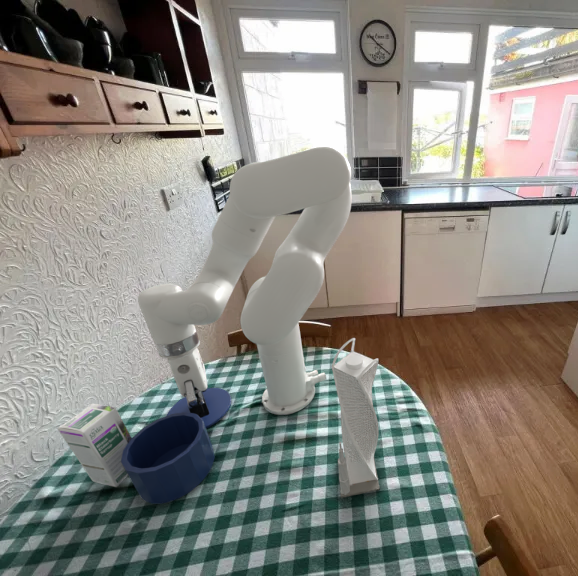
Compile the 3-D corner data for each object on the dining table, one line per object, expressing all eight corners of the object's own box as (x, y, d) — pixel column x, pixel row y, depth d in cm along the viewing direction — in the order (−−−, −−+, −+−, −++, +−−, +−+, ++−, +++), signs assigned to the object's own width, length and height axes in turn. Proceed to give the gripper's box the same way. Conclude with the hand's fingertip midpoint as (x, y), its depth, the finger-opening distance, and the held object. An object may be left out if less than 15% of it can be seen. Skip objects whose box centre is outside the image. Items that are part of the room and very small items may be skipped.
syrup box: (116, 488, 57) (83, 432, 51) (91, 482, 59) (55, 427, 52) (144, 460, 63) (116, 406, 56) (120, 455, 64) (90, 401, 57)
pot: (211, 432, 68) (201, 403, 65) (217, 480, 59) (205, 449, 55) (141, 460, 62) (126, 430, 59) (135, 518, 53) (116, 487, 49)
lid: (228, 384, 82) (221, 362, 79) (235, 419, 72) (228, 395, 68) (167, 405, 76) (157, 382, 73) (166, 447, 65) (154, 422, 62)
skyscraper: (338, 455, 63) (324, 339, 51) (377, 448, 64) (373, 333, 52) (340, 497, 55) (326, 373, 43) (385, 488, 57) (383, 365, 45)
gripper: (200, 357, 60) (222, 422, 68) (196, 319, 74) (214, 376, 81) (154, 371, 57) (182, 438, 64) (158, 328, 70) (181, 387, 78)
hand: (200, 403), depth 73 cm, fingers open, 8 cm apart
